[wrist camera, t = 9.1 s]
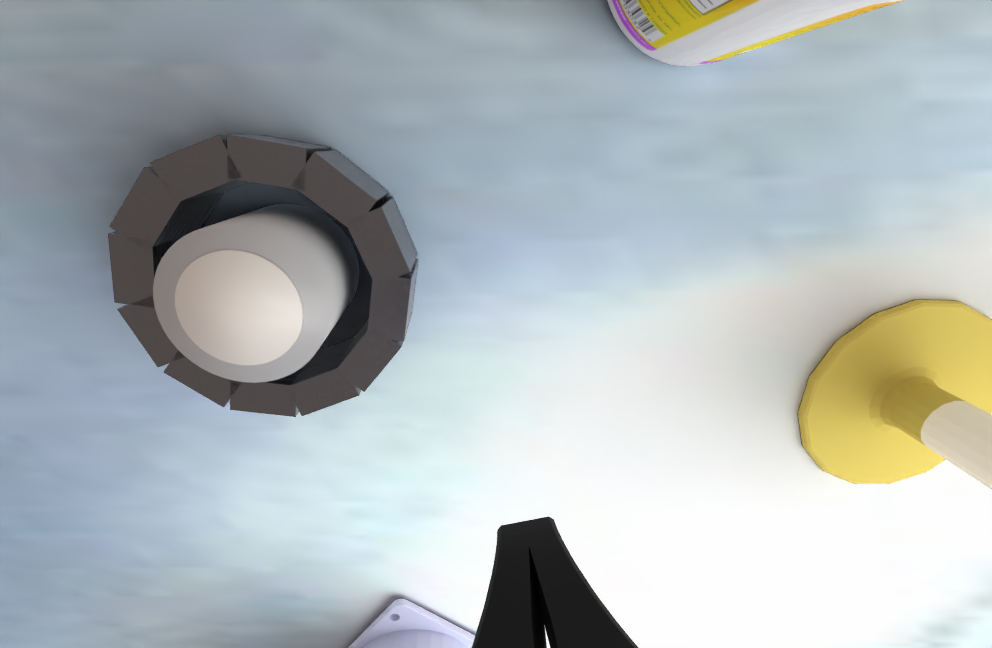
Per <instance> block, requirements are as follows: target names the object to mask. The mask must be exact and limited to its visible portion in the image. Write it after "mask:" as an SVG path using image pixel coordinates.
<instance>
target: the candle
mask: <svg viewBox="0 0 992 648" xmlns="http://www.w3.org/2000/svg"><path fill="white" fill-rule="evenodd" d="M798 418H799V426H800V433H801V440H802V446H803V447H804V448H805V449H806V451H807V452H808V453H809V455H810V456H811V457H812V458H813V460H814V461H815V462H816V464H817V465H818V466H819V467H820V469H822V470H823V471H825V472H827V473H829V474H832V475H834V476H836V477H839V478H841V479H844V480H846V481H848V482H851V483H853V484H890V483H893V482H897V481H900V480H903V479H906V478H909V477H912V476H915V475H918V474H922V473H925V472H927V471H929V470H930V469H932V468H933V467H935V466H937V465H938V464H940V463H941V462H943V461H944V460H948V461H949V462H951V463H952V464H954V465H955V466H957V467H958V468H960V469H961V470H963V471H965V472H966V473H968V474H969V475H971V476H972V477H974V478H975V479H977V480H978V481H980V482H981V483H983V484H984V485H986V486H987V487H989V488H991V489H992V320H991V319H990V318H988V317H986V316H985V315H983V314H981V313H979V312H977V311H976V310H974V309H972V308H970V307H969V306H967V305H965V304H963V303H961V302H959V301H947V300H918V299H917V300H914V301H911V302H908V303H905V304H902V305H899V306H896V307H893V308H890V309H887V310H884V311H881V312H878V313H875V314H873V315H872V316H870V317H869V318H868V319H866V320H865V321H863V322H862V323H861V324H859V325H858V326H857V327H855V328H854V329H852V330H851V331H850V332H848V333H847V334H846V335H844V336H843V337H841V338H840V339H839V340H837V341H836V342H835V343H834V345H833V346H832V347H831V349H830V350H829V351H828V353H827V354H826V355H825V357H824V358H823V359H822V361H821V362H820V363H819V365H818V366H817V367H816V368H815V370H814V371H813V372H812V374H811V375H810V376H809V379H808V382H807V385H806V389H805V392H804V395H803V398H802V401H801V405H800V408H799V411H798Z"/></svg>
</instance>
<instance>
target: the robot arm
mask: <svg viewBox="0 0 992 648" xmlns="http://www.w3.org/2000/svg"><path fill="white" fill-rule="evenodd" d="M544 625H545V626H544ZM545 628H546V632H547V636H548V640H549V644H550V647H551V648H638V647H637V646H636V644H635V643H634V642H633V641H632V640H631V639H630V637H629V636H628V635H627V634H626V633H625V631H624V630H623V629H622V628H621V626H620V625H619V624H618V623H617V621H616V620H615V619H614V618H613V616H612V615H611V614H610V612H609V611H608V610H607V608H606V607H605V606H604V604H603V603H602V602H601V600H600V599H599V598H598V596H597V595H596V593H595V592H594V591H593V589H592V588H591V586H590V585H589V583H588V582H587V580H586V579H585V577H584V576H583V574H582V573H581V571H580V570H579V568H578V566H577V565H576V563H575V562H574V560H573V558H572V556H571V555H570V553H569V551H568V549H567V548H566V546H565V544H564V542H563V540H562V538H561V536H560V534H559V532H558V530H557V527H556V525H555V522H554V519H552V518H550V517H544V518H539V519H534V520H529V521H523V522H518V523H513V524H508V525H502V526H501V527H500V528H499V529H498V532H497V546H496V554H495V560H494V566H493V571H492V576H491V580H490V584H489V589H488V593H487V597H486V601H485V605H484V609H483V612H482V616H481V619H480V622H479V626H478V629H477V632H476V635H473V634H471V633H469V632H467V631H465V630H463V629H461V628H459V627H458V626H456V625H454V624H452V623H450V622H448V621H446V620H444V619H442V618H440V617H438V616H437V615H435V614H433V613H431V612H429V611H427V610H425V609H423V608H421V607H419V606H417V605H415V604H414V603H412V602H410V601H408V600H406V599H397V600H395V601H394V602H393V603H392V604H391V605H390V606H389V607H388V608H387V609H386V610H385V611H384V612H383V613H382V614H381V615H380V616H379V617H378V618H377V619H376V620H375V621H374V622H373V623H372V624H371V625H370V626H369V627H368V628H367V629H366V630H365V631H364V632H363V633H362V634H361V635H360V636H359V637H358V638H357V639H356V640H355V641H354V642H353V643H352V644H351V645H350V646H349V647H348V648H547V647H546V636H545Z"/></svg>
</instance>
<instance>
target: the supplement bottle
mask: <svg viewBox="0 0 992 648" xmlns="http://www.w3.org/2000/svg"><path fill="white" fill-rule="evenodd" d="M607 1H608V4H609V7H610V9H611V12H612V14H613V16H614V18H615V20H616V22H617V24H618V26H619V27H620V29H621V30H622V32H623V33H624V34H625V35H626V37H627V38H628V39H629V40H630V41H631V42H632V43H633V44H634V45H635V46H636V47H637V48H638V49H640V50H641V51H642V52H644V53H645V54H647V55H648V56H650V57H652V58H654V59H656V60H659V61H661V62H664V63H667V64H672V65H678V66H698V65H704V64H709V63H712V62H717V61H720V60H724V59H727V58H730V57H733V56H736V55H739V54H743V53H745V52H748V51H751V50H754V49H757V48H760V47H763V46H766V45H769V44H772V43H775V42H778V41H781V40H784V39H787V38H790V37H793V36H796V35H799V34H802V33H805V32H807V31H811V30H814V29H817V28H820V27H823V26H826V25H829V24H832V23H835V22H838V21H841V20H844V19H847V18H850V17H853V16H856V15H859V14H862V13H865V12H869V11H872V10H875V9H878V8H881V7H885V6H888V5H891V4H894V3H897V2H900V1H903V0H607Z"/></svg>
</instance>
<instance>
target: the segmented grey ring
mask: <svg viewBox="0 0 992 648" xmlns="http://www.w3.org/2000/svg"><path fill="white" fill-rule="evenodd" d="M330 150H331V147H327V146H321V145H315V144H310V143H304V142H299V141H293V140H288V139H282V138H277V137H271V136H265V135H241V134H227V135H217V136H215V137H212V138H210V139H207V140H205V141H202V142H200V143H197V144H195V145H192V146H190V147H187V148H185V149H183V150H180V151H178V152H175V153H173V154H170V155H168V156H165V157H163V158H160V159H158V160H155V161H153V162H150V163H151V165H152V167H144V169H143V171H142V172H141V174H140V176H139V177H138V179H137V181H136V183H135V184H134V186H133V188H132V189H131V191H130V193H129V194H128V196H127V198H126V199H125V201H124V203H123V205H122V206H121V208H120V210H119V211H118V213H117V215H116V216H115V218H114V220H113V222H112V223H111V225H110V227H111V228H112V229H114V230H115V231H116V232H112V233H109V234H108V238H109V249H110V259H111V270H112V280H113V290H114V301H115V302H116V303H123V304H127V305H125V306H123V307H121V308H119V309H118V311H119V312H120V314H121V315H122V317H123V318H124V320H125V321H126V322H127V324H128V325H129V327H130V328H131V330H132V331H133V332H134V334H135V335H136V337H137V338H138V340H139V341H140V342H141V344H142V345H143V347H144V348H145V350H146V351H147V352H148V354H149V355H150V357H151V358H152V360H153V361H154V362H155V364H156V365H157V367H160V366H163V365H165V364H168V363H169V365H168V366H167V368H166V369H165V371H164V373H166V374H167V375H169V376H171V377H172V378H174V379H176V380H178V381H179V382H181V383H183V384H184V385H186V386H188V387H190V388H191V389H193V390H195V391H196V392H198V393H200V394H202V395H203V396H205V397H207V398H208V399H210V400H212V401H214V402H215V403H217V404H219V405H220V406H222V407H224V406H225V405H226V404H227V403H228V402H229V401H230V410H239V411H248V412H257V413H266V414H275V415H284V416H293V417H296V415H297V414H298V412H300V413H301V415H302V416H304V415H306V414H309V413H312V412H315V411H317V410H320V409H323V408H326V407H328V406H331V405H334V404H337V403H340V402H342V401H345V400H348V399H351V398H353V397H356V396H359V394H360V392H361V390H362V391H365V390H366V389H367V388H368V387H369V385H370V384H371V383H372V382H373V381H374V379H375V378H376V377H377V376H378V375H379V373H380V372H381V371H382V370H383V369H384V367H385V366H386V365H387V364H388V362H389V361H390V360H391V359H392V358H393V356H394V355H395V354H396V353H397V352H398V350H399V349H400V348H401V347H402V343H403V341H404V339H405V336H406V332H407V329H408V325H409V321H410V318H411V314H412V308H413V299H414V291H415V283H416V275H417V267H418V259H416V256H417V254H418V253H417V251H416V249H415V246H414V244H413V242H412V239H411V237H410V235H409V232H408V230H407V228H406V225H405V223H404V221H403V218H402V216H401V214H400V211H399V209H398V207H397V204H396V202H395V200H394V198H390V199H388V200H385V201H383V200H384V198H385V197H386V196H387V194H388V193H389V191H388V190H386V189H385V188H384V187H383V186H381V185H380V184H379V183H378V182H376V181H375V180H374V179H373V178H371V177H370V176H369V175H368V174H366V173H365V172H364V171H363V170H361V169H360V168H359V167H358V166H356V165H355V164H354V163H352V162H351V161H350V160H349V159H347V158H346V157H345V156H344V155H342V154H341V153H340V152H339V151H337V150H333V151H330ZM248 182H253V183H259V184H265V185H271V186H277V187H283V188H289V189H295V190H298V191H299V192H301V193H302V194H303V195H305V196H306V197H307V198H309V199H310V200H311V201H313V202H314V203H315V204H317V205H318V206H319V207H321V208H322V209H323V210H325V211H326V212H327V213H329V214H330V215H331V216H333V217H334V218H335V219H337V220H338V221H339V222H341V223H342V224H343V225H345V226H346V227H347V228H348V230H349V232H350V234H351V236H352V238H353V240H354V242H355V244H356V246H357V248H358V251H359V253H360V255H361V257H362V259H363V261H364V263H365V265H366V267H367V269H368V271H369V274H370V276H371V278H372V289H371V300H370V311H369V319H368V321H367V322H366V323H365V324H364V326H363V327H362V328H361V329H360V331H359V332H358V333H357V334H356V336H355V337H353V338H350V339H348V340H345V341H342V342H340V343H337V344H334V345H332V346H329V347H326V348H323V349H321V350H318V351H317V352H316V354H315V355H314V356H313V357H312V358H311V360H310V361H309V362H308V363H306V364H305V365H304V366H303V367H302V368H300V369H299V370H297V371H296V372H294V373H292V374H290V375H288V376H286V377H283V378H280V379H277V380H273V381H268V382H257V383H252V382H240V381H233V380H230V379H226V378H222V377H220V376H217V375H214V374H212V373H210V372H208V371H206V370H204V369H202V368H200V367H199V366H197V365H196V364H194V363H193V362H191V361H190V360H189V359H188V358H187V357H185V356H184V355H183V354H182V353H181V352H180V351H179V350H178V349H177V348H176V347H175V346H174V344H173V343H172V342H171V341H170V339H169V338H168V336H167V335H166V333H165V332H164V330H163V328H162V326H161V324H160V322H159V320H158V317H157V313H156V310H155V306H154V300H153V284H154V277H155V274H156V270H157V267H158V265H159V263H160V261H161V259H162V257H163V256H164V255H165V253H166V252H167V250H168V249H169V248H170V247H171V246H172V245H173V244H174V243H175V242H177V241H178V240H179V239H181V238H182V237H183V236H185V235H187V234H189V233H191V232H193V231H195V230H198V229H201V227H202V226H203V224H204V223H205V221H206V220H207V218H208V217H209V215H210V213H211V212H212V210H213V209H214V207H215V206H216V204H217V203H218V201H219V200H220V198H221V196H222V195H223V193H224V192H225V191H228V190H230V189H233V188H236V187H238V186H241V185H243V184H246V183H248Z"/></svg>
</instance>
